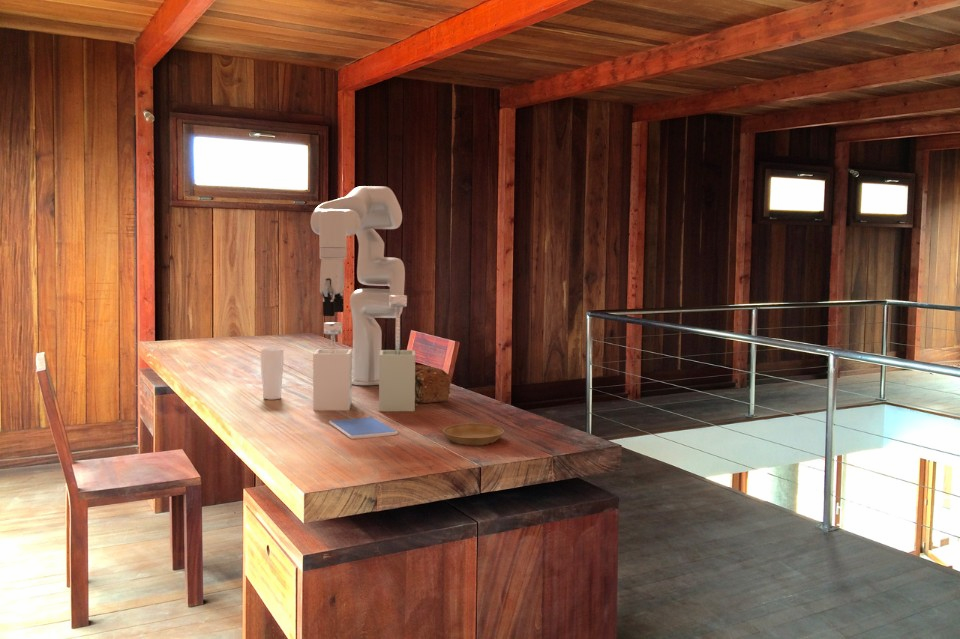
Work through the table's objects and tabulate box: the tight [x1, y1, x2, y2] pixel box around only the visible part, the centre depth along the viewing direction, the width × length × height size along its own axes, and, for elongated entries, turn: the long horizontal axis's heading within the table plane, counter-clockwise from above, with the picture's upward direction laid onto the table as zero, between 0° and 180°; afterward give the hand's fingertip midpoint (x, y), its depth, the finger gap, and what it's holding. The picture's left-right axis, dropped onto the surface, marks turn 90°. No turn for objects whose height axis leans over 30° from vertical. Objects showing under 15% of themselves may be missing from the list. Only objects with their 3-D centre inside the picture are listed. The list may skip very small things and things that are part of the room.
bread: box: [415, 364, 452, 404], centre depth 248 cm, size 19×11×10 cm, turn 29°
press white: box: [312, 348, 353, 411], centre depth 232 cm, size 10×10×16 cm
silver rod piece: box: [389, 294, 408, 355], centre depth 231 cm, size 8×8×21 cm
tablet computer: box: [328, 416, 399, 440], centre depth 207 cm, size 19×13×1 cm, turn 27°
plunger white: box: [323, 321, 343, 354], centre depth 231 cm, size 8×8×21 cm
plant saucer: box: [442, 422, 505, 446], centre depth 197 cm, size 15×15×3 cm
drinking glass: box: [259, 347, 285, 401], centre depth 242 cm, size 7×7×15 cm
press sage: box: [378, 349, 416, 412], centre depth 232 cm, size 10×10×16 cm
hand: (333, 313), depth 231 cm, fingers open, 9 cm apart
